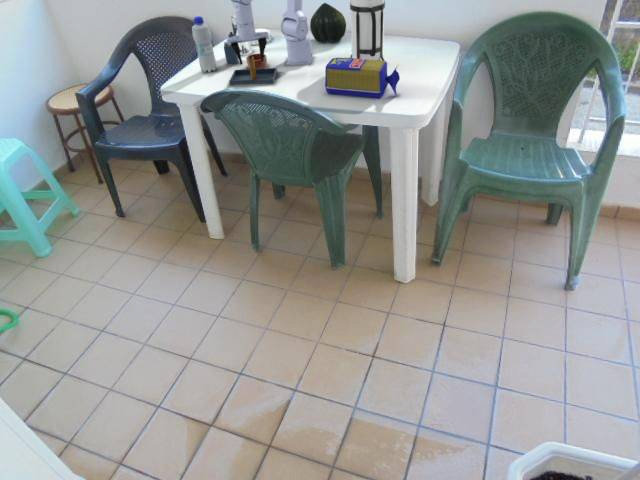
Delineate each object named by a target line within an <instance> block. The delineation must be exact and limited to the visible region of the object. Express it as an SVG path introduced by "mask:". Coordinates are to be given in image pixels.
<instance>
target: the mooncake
mask: <svg viewBox="0 0 640 480" xmlns="http://www.w3.org/2000/svg"><path fill="white" fill-rule="evenodd" d="M257 32H268V35H269V39H266V41H267V43H269V42H271V41H272V32H271V30H270V29H268V28H260V27H258V28H255V33H257ZM250 44H251V46H259V43H258V40H255V41H250Z"/></svg>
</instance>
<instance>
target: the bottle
mask: <svg viewBox="0 0 640 480" xmlns="http://www.w3.org/2000/svg"><path fill="white" fill-rule="evenodd" d="M193 23H194V25H192V26H191V33H192V38H193V41H194V42H195V47H196V51H197V56H198V63H199V66H200V70H201V71H202V72H203V73H207V72H208V73H211V72H215V71H216V70H217V68H218V64H217V60H216V56H215V53H214V48H213V47H214V46H213V43H212V33H211V30H210V27H209V24H207V23H205V22H204V18H203V17H202V16H200V15H198V16H195V17H193Z"/></svg>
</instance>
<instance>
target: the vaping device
mask: <svg viewBox="0 0 640 480" xmlns="http://www.w3.org/2000/svg"><path fill="white" fill-rule="evenodd" d="M227 36H228V38H230V37H233V36H235V34H234V32H233V31H229V34H228V35H227ZM223 44H224V45H223V50H224V56H225V61H226V64H227V65H238V64H240V61H239V58H238V56H237V54H236V53H235V51H234V50H233V48H232V46H231V45H228V43H227V41H224V42H223Z"/></svg>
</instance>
